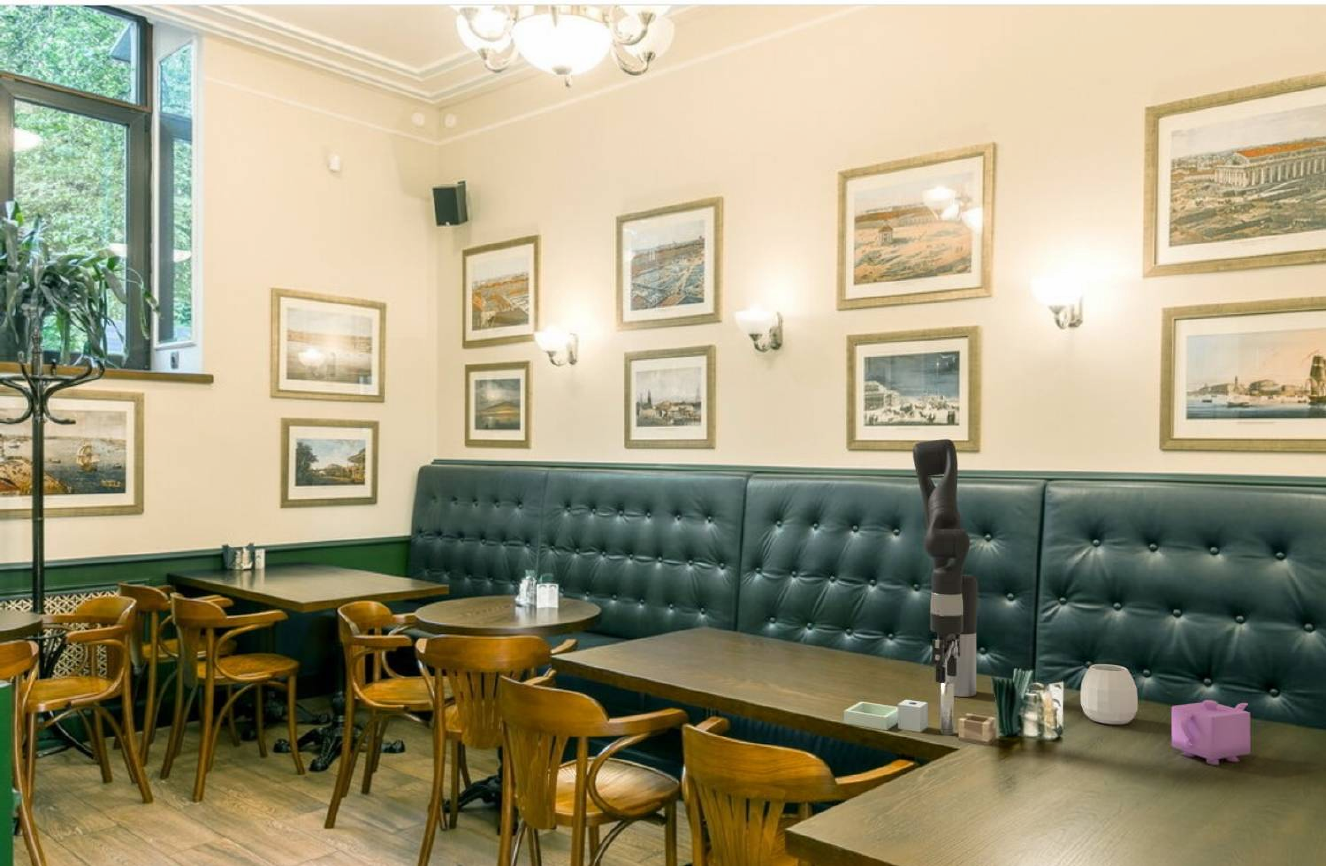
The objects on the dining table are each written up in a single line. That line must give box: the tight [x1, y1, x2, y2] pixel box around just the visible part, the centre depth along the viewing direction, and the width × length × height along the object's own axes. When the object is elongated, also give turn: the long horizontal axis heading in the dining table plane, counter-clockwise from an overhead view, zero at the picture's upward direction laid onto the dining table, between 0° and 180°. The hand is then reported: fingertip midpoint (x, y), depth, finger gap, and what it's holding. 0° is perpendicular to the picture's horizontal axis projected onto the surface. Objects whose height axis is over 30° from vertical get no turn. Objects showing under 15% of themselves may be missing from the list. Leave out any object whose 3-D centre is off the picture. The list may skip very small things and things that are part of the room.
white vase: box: [1080, 663, 1139, 725], centre depth 251 cm, size 13×13×14 cm
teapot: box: [1171, 699, 1251, 766], centre depth 223 cm, size 20×10×12 cm, turn 112°
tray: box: [843, 701, 898, 731], centre depth 249 cm, size 11×11×3 cm
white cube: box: [897, 699, 928, 733], centre depth 244 cm, size 6×6×6 cm
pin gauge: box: [940, 682, 955, 736], centre depth 240 cm, size 3×3×12 cm
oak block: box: [958, 713, 997, 746], centre depth 235 cm, size 7×7×5 cm
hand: (946, 679), depth 240 cm, fingers open, 8 cm apart
